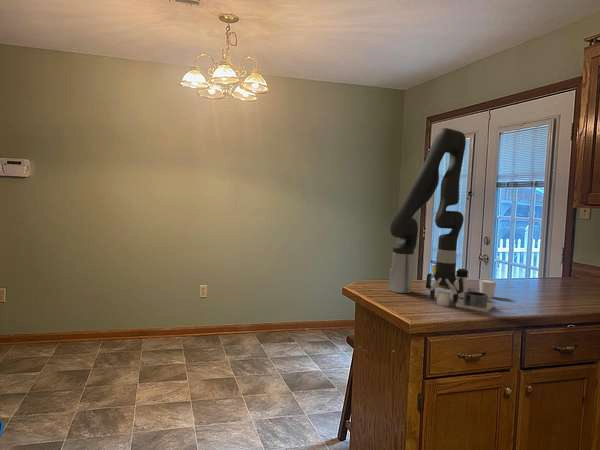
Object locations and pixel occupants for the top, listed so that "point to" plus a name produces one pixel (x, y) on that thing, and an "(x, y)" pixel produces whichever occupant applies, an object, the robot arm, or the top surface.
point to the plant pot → (434, 274)
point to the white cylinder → (487, 287)
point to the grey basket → (475, 301)
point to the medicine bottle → (458, 274)
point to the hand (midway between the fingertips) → (443, 301)
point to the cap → (443, 298)
